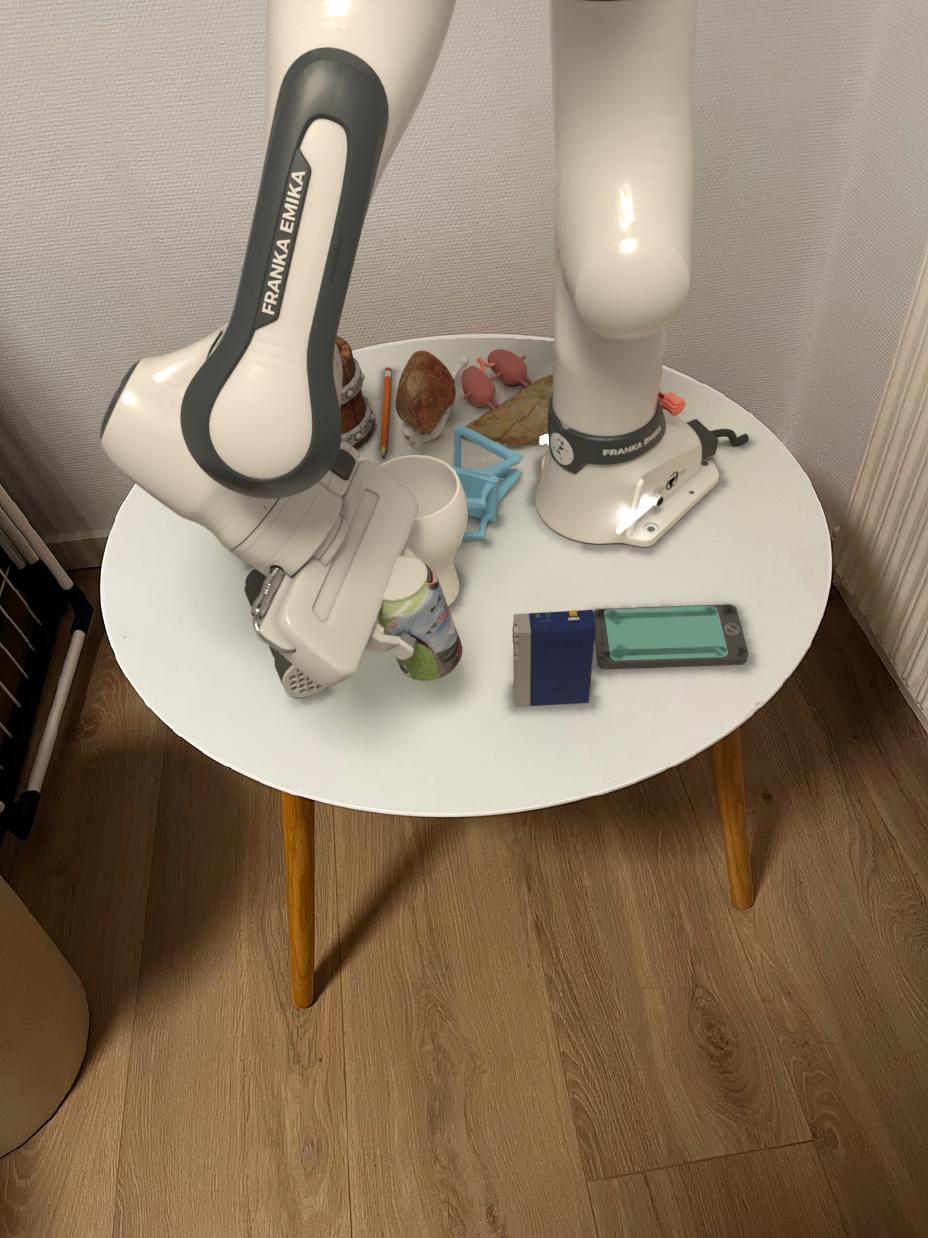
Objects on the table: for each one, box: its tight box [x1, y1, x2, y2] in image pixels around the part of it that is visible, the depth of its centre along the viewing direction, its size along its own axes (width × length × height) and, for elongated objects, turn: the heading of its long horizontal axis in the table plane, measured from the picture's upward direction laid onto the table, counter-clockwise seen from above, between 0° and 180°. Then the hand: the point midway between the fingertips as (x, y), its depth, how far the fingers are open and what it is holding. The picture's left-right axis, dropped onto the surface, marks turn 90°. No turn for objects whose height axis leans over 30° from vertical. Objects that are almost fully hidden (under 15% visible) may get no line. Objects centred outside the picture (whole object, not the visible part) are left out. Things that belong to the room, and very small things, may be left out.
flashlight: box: [244, 568, 329, 698], centre depth 94 cm, size 15×5×5 cm, turn 25°
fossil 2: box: [395, 349, 457, 435], centre depth 112 cm, size 13×8×10 cm
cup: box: [378, 454, 469, 607], centre depth 93 cm, size 11×11×15 cm
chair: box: [448, 424, 524, 542], centre depth 104 cm, size 8×8×12 cm
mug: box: [336, 335, 376, 450], centre depth 112 cm, size 12×14×15 cm
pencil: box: [379, 367, 392, 459], centre depth 119 cm, size 1×19×1 cm
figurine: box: [401, 356, 470, 450], centre depth 117 cm, size 7×4×18 cm
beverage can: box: [377, 556, 463, 682], centre depth 79 cm, size 6×7×12 cm
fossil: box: [461, 374, 553, 447], centre depth 116 cm, size 21×13×2 cm, turn 135°
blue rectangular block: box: [511, 609, 596, 708], centre depth 85 cm, size 7×2×12 cm, turn 92°
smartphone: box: [593, 603, 750, 670], centre depth 93 cm, size 7×1×15 cm
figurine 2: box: [460, 348, 534, 411], centre depth 120 cm, size 12×3×7 cm
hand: (421, 621), depth 78 cm, fingers closed on beverage can, 5 cm apart
